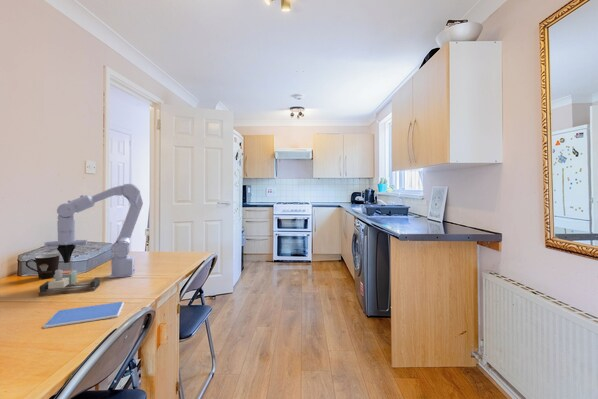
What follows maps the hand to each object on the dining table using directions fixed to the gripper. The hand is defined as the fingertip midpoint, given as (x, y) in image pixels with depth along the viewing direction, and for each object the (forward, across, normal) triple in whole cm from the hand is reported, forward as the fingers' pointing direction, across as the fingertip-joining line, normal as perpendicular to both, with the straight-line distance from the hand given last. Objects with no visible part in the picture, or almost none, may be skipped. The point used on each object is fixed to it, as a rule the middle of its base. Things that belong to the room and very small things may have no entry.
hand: (67, 262), depth 122 cm
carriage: (+7, +1, -10) cm, 12 cm away
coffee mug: (+10, -13, +14) cm, 22 cm away
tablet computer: (+10, +18, -38) cm, 44 cm away
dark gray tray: (+9, +4, -10) cm, 14 cm away
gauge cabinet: (+9, 0, -1) cm, 9 cm away
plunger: (+8, 0, -1) cm, 8 cm away
